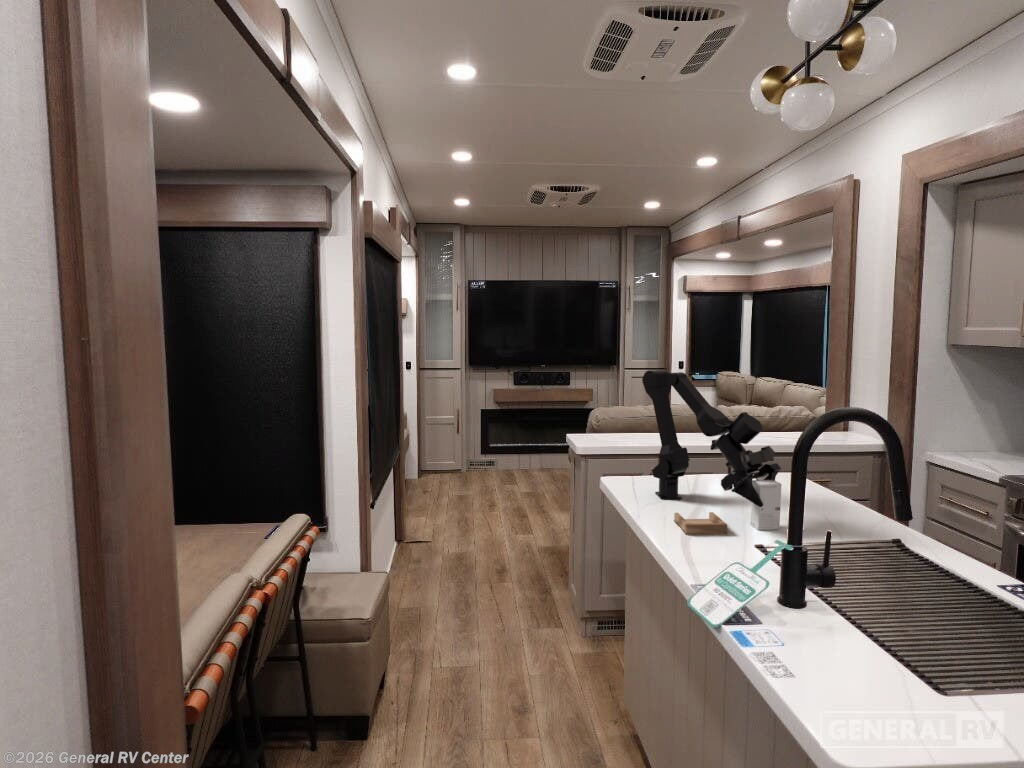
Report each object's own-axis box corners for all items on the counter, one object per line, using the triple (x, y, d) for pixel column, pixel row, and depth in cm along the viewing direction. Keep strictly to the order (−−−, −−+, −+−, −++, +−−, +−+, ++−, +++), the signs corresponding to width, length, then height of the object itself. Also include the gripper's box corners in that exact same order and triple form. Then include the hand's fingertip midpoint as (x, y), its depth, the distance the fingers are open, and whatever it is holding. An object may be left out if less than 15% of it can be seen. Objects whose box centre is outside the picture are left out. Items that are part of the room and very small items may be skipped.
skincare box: (758, 530, 152) (760, 484, 150) (749, 524, 156) (750, 480, 155) (780, 529, 152) (782, 483, 151) (770, 523, 157) (772, 479, 156)
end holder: (673, 521, 159) (673, 512, 159) (711, 520, 160) (712, 511, 159) (686, 534, 149) (686, 525, 149) (727, 534, 149) (727, 524, 149)
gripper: (731, 440, 150) (769, 493, 142) (776, 433, 160) (813, 481, 152) (705, 464, 158) (740, 516, 150) (749, 456, 168) (783, 504, 160)
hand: (770, 503), depth 152 cm, fingers closed on skincare box, 7 cm apart
